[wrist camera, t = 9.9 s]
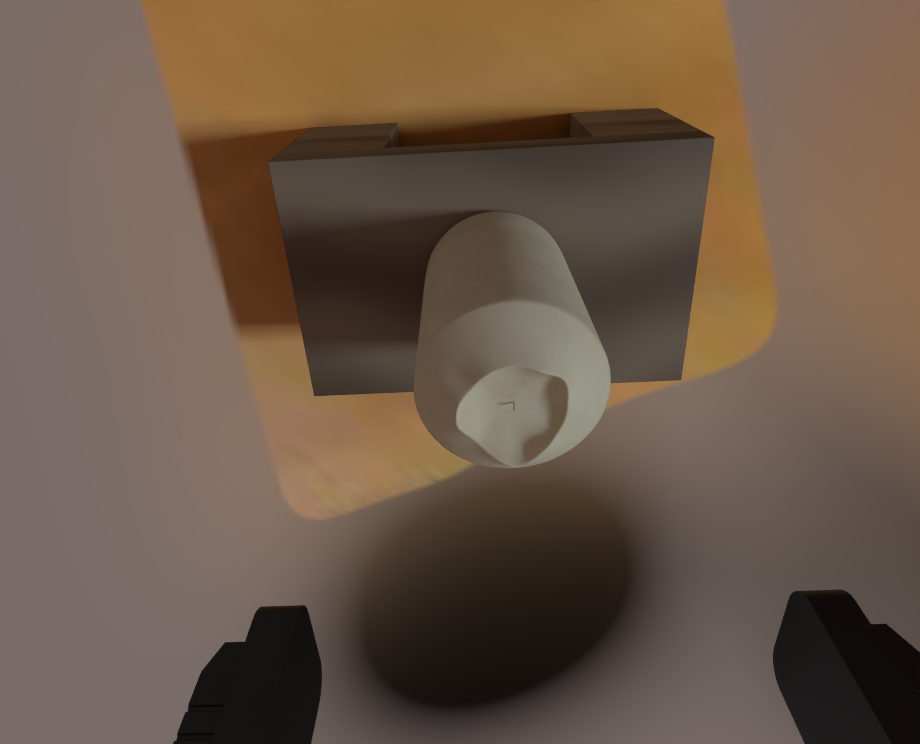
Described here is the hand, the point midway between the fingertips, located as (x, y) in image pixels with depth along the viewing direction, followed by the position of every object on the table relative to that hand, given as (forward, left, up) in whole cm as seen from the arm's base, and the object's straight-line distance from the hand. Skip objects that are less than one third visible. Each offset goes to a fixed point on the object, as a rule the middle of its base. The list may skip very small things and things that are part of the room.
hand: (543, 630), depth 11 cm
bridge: (0, 0, -24) cm, 24 cm away
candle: (0, 0, -17) cm, 17 cm away
